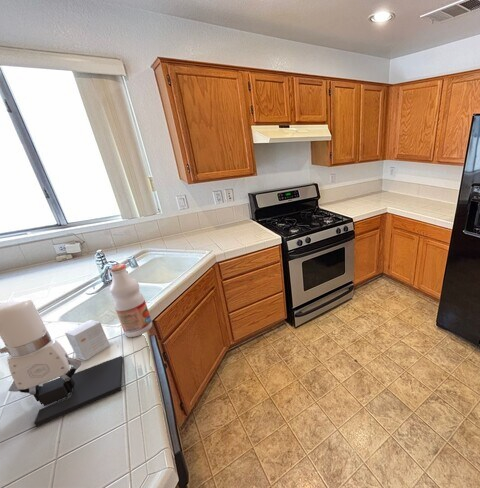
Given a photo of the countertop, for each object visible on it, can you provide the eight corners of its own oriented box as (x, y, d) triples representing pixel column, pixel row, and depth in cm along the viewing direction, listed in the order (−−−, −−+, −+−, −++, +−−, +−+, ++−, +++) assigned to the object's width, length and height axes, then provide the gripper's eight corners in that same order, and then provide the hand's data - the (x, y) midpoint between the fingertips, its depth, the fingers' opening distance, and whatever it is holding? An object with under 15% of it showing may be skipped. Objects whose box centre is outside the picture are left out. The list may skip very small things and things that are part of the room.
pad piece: (44, 406, 72) (37, 395, 71) (48, 394, 76) (42, 383, 75) (68, 396, 75) (62, 386, 73) (71, 385, 79) (66, 375, 77)
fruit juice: (122, 331, 105) (98, 267, 95) (148, 320, 111) (128, 259, 102) (129, 341, 99) (103, 274, 89) (156, 328, 105) (135, 264, 96)
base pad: (36, 427, 68) (33, 423, 67) (51, 386, 80) (49, 382, 80) (121, 390, 77) (119, 386, 77) (123, 358, 90) (121, 355, 89)
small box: (101, 342, 99) (91, 318, 95) (110, 345, 97) (100, 321, 93) (75, 357, 92) (64, 332, 88) (85, 361, 90) (73, 335, 86)
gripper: (-25, 368, 62) (10, 422, 68) (70, 337, 71) (94, 388, 77) (-12, 350, 68) (20, 402, 74) (75, 324, 77) (97, 372, 83)
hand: (57, 394), depth 75 cm, fingers closed on pad piece, 5 cm apart
